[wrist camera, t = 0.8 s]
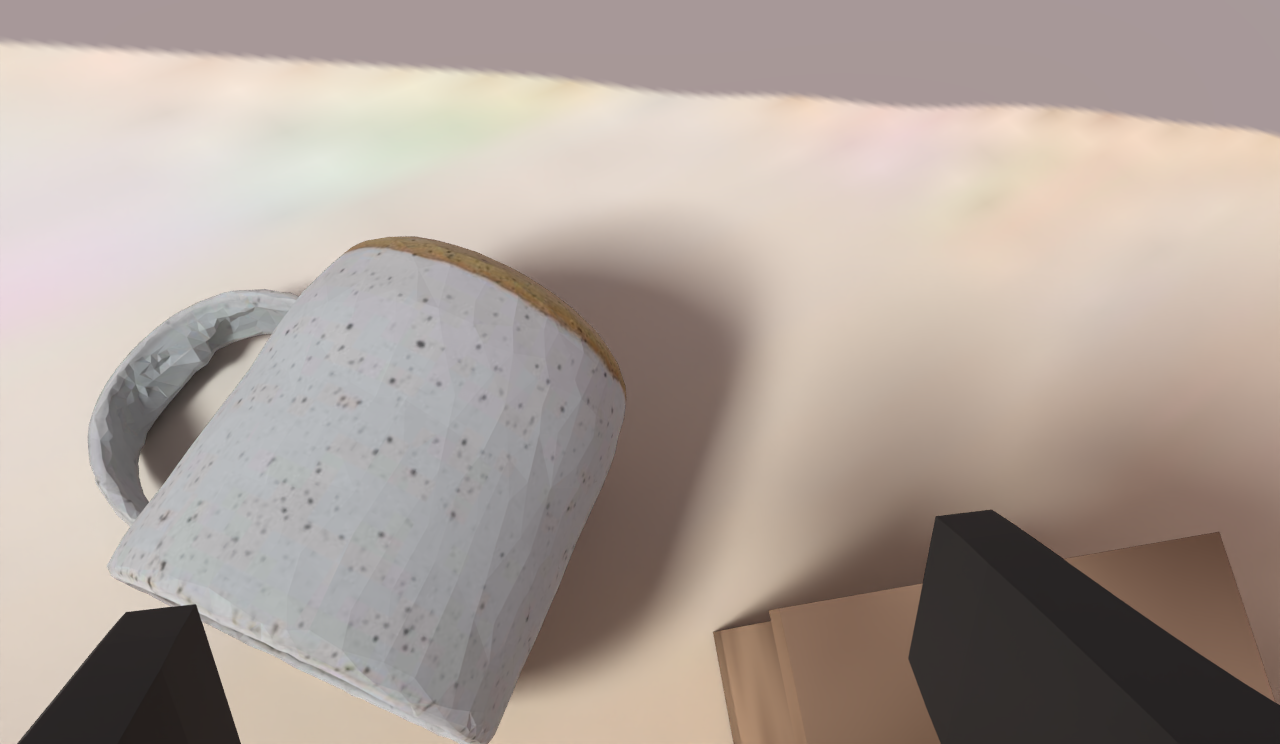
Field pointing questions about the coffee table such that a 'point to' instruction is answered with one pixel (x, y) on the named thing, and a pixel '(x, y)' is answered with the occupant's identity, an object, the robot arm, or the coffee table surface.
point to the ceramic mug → (374, 474)
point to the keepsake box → (753, 685)
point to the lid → (884, 623)
